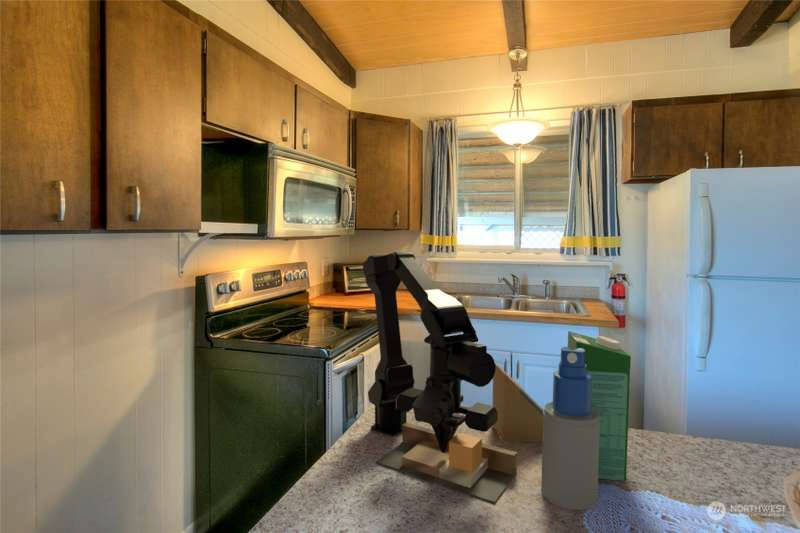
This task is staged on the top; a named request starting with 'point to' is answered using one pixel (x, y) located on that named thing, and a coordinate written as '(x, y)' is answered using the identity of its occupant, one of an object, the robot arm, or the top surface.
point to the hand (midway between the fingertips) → (444, 452)
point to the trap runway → (431, 464)
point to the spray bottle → (571, 436)
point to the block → (465, 452)
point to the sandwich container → (515, 410)
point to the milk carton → (608, 399)
